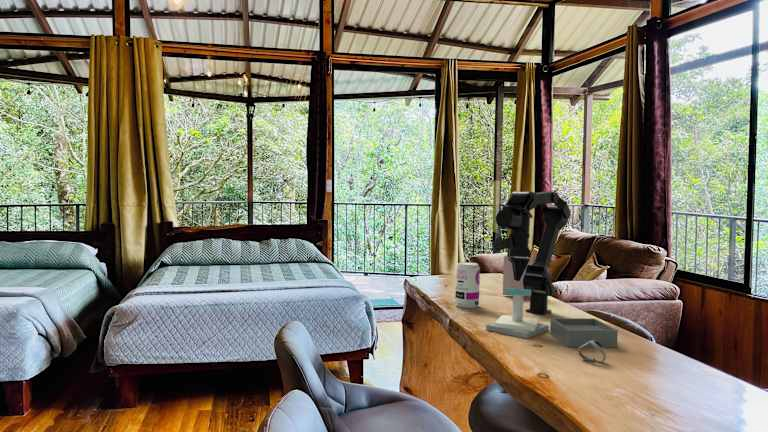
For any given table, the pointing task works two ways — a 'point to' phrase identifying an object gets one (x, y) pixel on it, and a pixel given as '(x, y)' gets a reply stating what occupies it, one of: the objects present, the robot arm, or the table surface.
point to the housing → (583, 332)
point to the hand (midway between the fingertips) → (516, 280)
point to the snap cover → (517, 313)
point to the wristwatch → (597, 346)
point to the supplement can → (467, 285)
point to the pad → (518, 333)
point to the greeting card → (512, 276)
